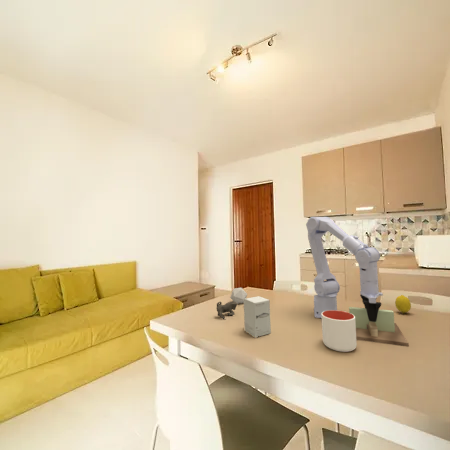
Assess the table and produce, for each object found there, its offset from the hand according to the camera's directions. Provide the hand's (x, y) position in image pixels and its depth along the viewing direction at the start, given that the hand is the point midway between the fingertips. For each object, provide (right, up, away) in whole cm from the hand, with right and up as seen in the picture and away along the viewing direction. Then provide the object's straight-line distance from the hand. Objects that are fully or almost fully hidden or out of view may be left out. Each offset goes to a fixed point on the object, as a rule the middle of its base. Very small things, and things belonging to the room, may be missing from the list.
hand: (371, 317), depth 88 cm
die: (-46, -9, +42) cm, 63 cm away
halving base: (0, -5, 0) cm, 5 cm away
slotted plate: (0, -4, 0) cm, 4 cm away
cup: (-17, -6, -10) cm, 20 cm away
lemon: (+25, -5, +17) cm, 30 cm away
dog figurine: (-52, -8, +22) cm, 58 cm away
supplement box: (-41, -7, +3) cm, 42 cm away
